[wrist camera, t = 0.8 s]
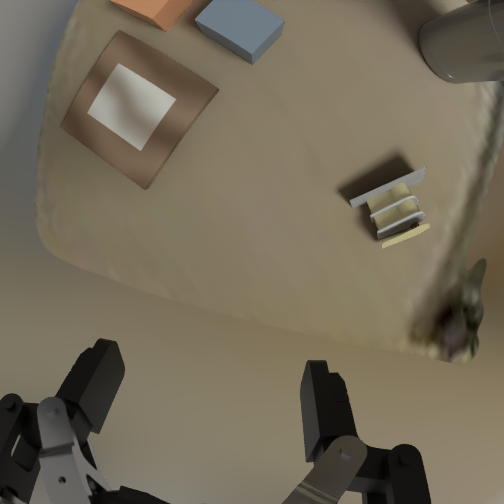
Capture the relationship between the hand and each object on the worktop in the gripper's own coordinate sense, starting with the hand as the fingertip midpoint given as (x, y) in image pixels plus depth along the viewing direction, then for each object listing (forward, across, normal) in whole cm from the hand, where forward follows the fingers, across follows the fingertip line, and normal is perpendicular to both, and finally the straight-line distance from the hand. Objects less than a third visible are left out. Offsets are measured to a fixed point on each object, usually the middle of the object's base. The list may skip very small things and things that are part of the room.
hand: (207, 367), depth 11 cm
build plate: (+24, +13, -12) cm, 30 cm away
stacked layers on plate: (+25, -18, -3) cm, 31 cm away
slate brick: (+25, +1, -20) cm, 32 cm away
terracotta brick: (+25, +11, -25) cm, 37 cm away
